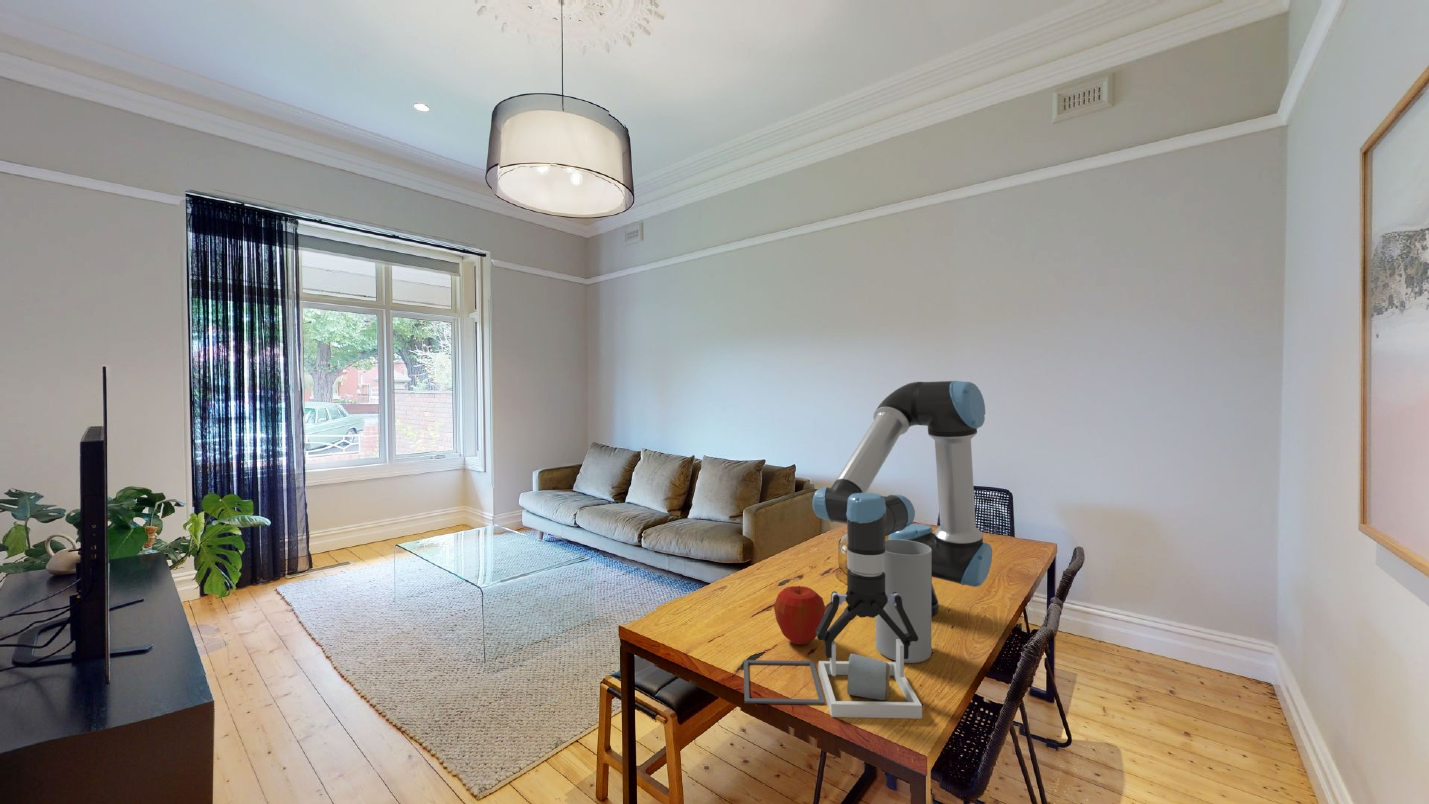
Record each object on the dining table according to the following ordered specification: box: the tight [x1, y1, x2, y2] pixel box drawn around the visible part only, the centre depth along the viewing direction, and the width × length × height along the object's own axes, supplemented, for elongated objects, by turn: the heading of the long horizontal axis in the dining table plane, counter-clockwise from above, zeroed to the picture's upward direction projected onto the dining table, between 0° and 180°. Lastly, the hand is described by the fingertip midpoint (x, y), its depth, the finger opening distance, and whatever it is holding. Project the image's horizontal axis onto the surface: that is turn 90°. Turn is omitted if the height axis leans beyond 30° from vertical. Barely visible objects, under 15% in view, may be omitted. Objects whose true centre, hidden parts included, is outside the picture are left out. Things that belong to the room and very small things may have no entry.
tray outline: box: [743, 659, 826, 705], centre depth 113 cm, size 16×16×1 cm
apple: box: [773, 585, 826, 646], centre depth 131 cm, size 12×12×14 cm
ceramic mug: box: [846, 653, 891, 701], centre depth 109 cm, size 11×8×8 cm
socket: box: [818, 656, 923, 720], centre depth 109 cm, size 17×18×2 cm
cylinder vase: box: [875, 539, 933, 664], centre depth 126 cm, size 12×12×25 cm
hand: (866, 673), depth 108 cm, fingers open, 13 cm apart
